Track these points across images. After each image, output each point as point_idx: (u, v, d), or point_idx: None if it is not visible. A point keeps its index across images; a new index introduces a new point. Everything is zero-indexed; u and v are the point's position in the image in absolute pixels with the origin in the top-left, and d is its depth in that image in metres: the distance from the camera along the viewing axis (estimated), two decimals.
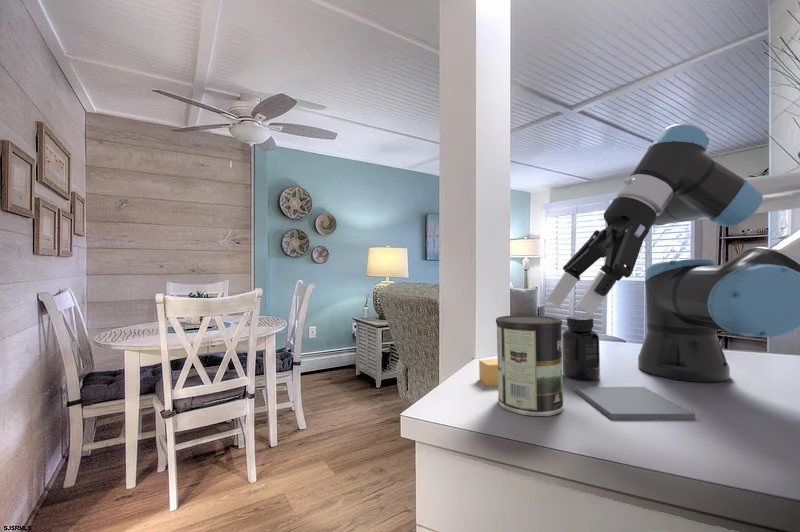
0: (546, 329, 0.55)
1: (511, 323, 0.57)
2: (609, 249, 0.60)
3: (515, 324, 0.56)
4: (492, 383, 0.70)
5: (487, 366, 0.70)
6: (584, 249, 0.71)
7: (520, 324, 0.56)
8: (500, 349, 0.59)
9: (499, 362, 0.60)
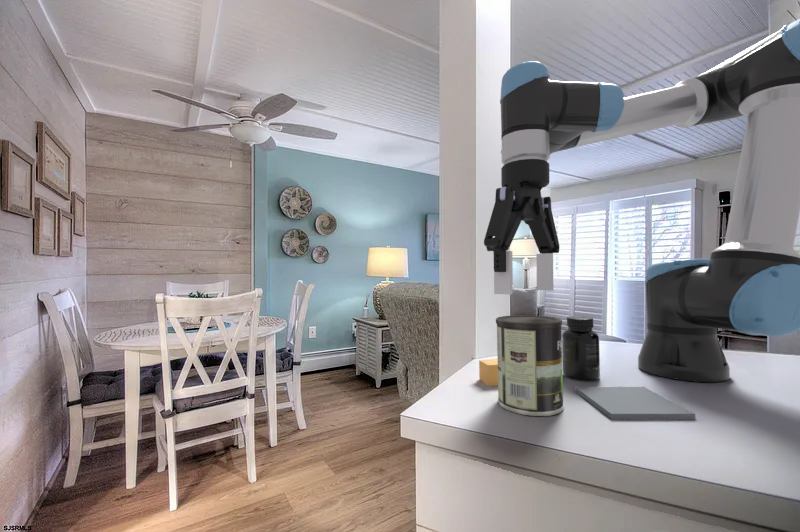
0: (546, 329, 0.55)
1: (511, 323, 0.57)
2: None
3: (515, 324, 0.56)
4: (492, 383, 0.70)
5: (487, 366, 0.70)
6: None
7: (520, 324, 0.56)
8: (500, 349, 0.59)
9: (499, 362, 0.60)
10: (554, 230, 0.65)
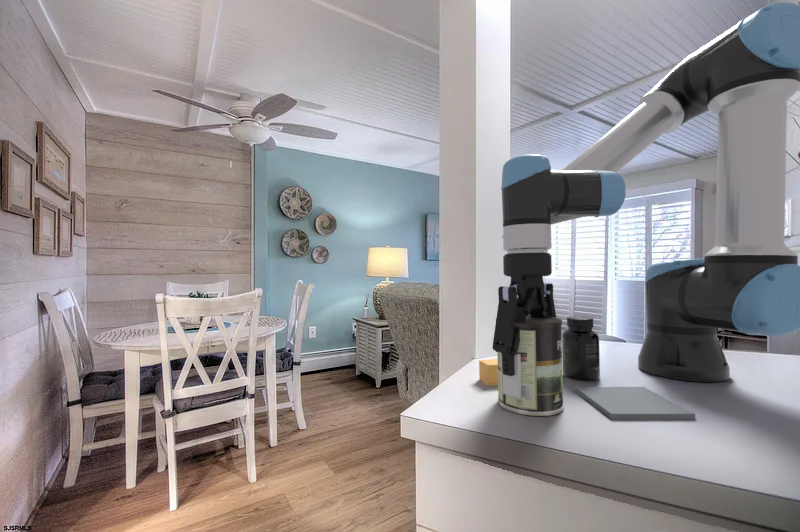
0: (546, 329, 0.55)
1: None
2: None
3: (515, 324, 0.56)
4: (492, 383, 0.70)
5: (487, 366, 0.70)
6: None
7: (520, 324, 0.56)
8: None
9: (499, 362, 0.60)
10: None
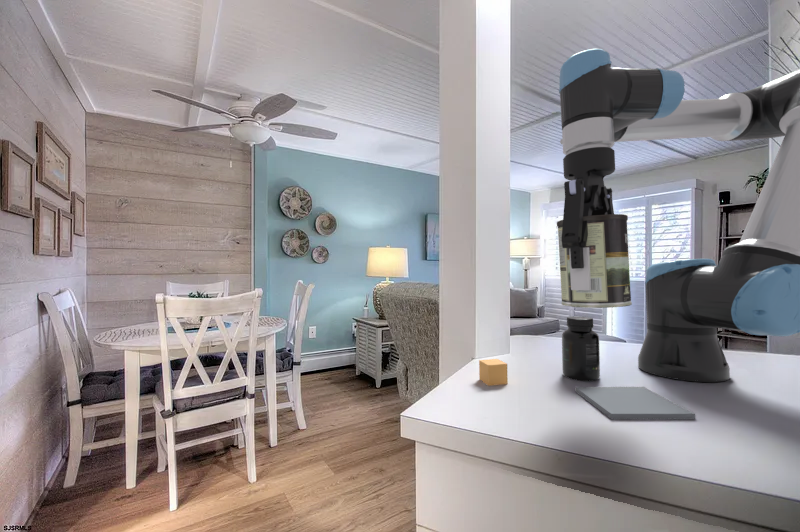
0: (615, 220, 0.55)
1: None
2: None
3: None
4: (492, 383, 0.70)
5: (487, 366, 0.70)
6: None
7: (587, 217, 0.55)
8: (565, 248, 0.59)
9: (563, 262, 0.59)
10: None
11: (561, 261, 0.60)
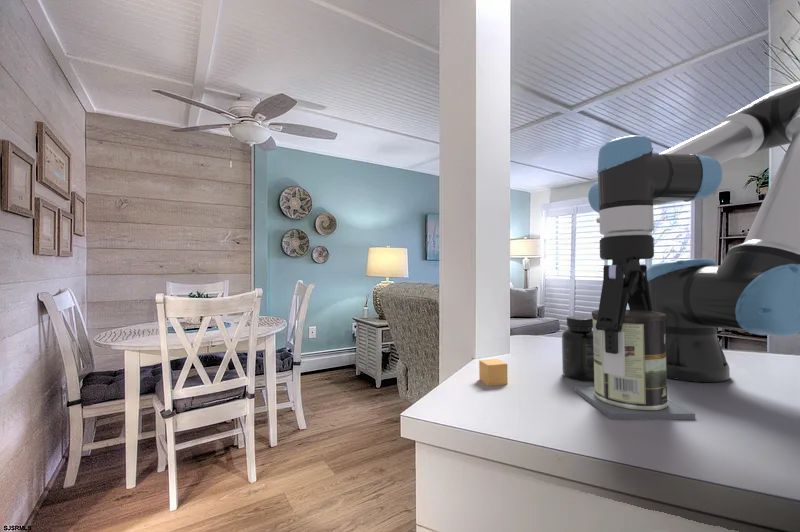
0: (654, 322, 0.55)
1: None
2: None
3: None
4: (492, 383, 0.70)
5: (487, 366, 0.70)
6: None
7: (627, 317, 0.55)
8: (601, 342, 0.58)
9: (599, 356, 0.59)
10: (649, 297, 0.64)
11: (596, 354, 0.60)
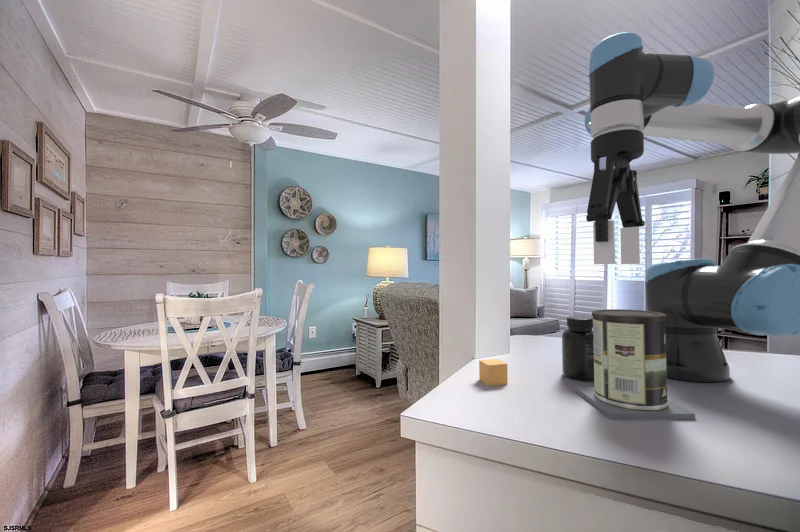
0: (655, 322, 0.55)
1: (616, 316, 0.56)
2: None
3: (621, 317, 0.56)
4: (492, 383, 0.70)
5: (487, 366, 0.70)
6: None
7: (627, 317, 0.55)
8: (601, 343, 0.58)
9: (599, 356, 0.59)
10: (639, 204, 0.65)
11: (596, 354, 0.60)
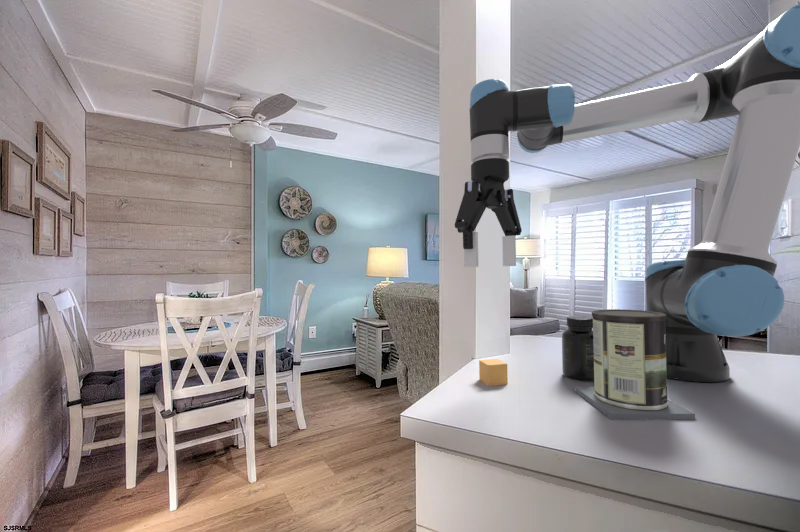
0: (655, 322, 0.55)
1: (616, 316, 0.56)
2: None
3: (621, 317, 0.56)
4: (492, 383, 0.70)
5: (487, 366, 0.70)
6: None
7: (627, 317, 0.55)
8: (601, 343, 0.58)
9: (599, 356, 0.59)
10: (516, 216, 0.78)
11: (596, 354, 0.60)
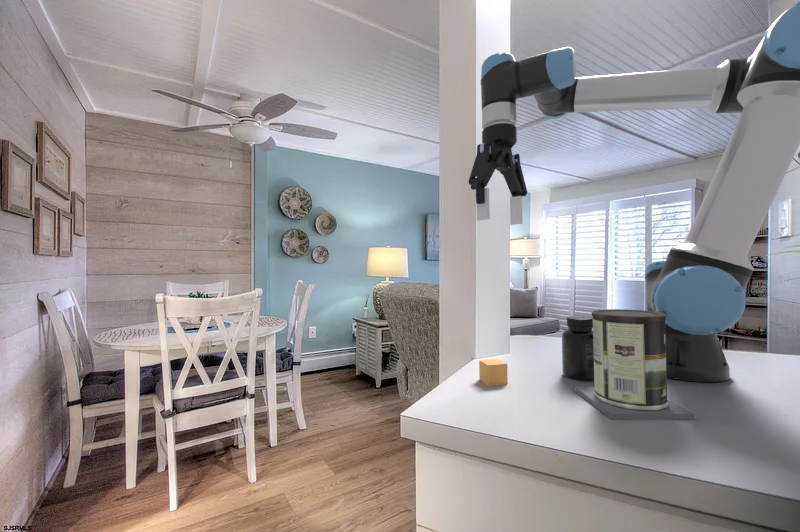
0: (654, 322, 0.55)
1: (616, 316, 0.56)
2: None
3: (621, 317, 0.56)
4: (492, 383, 0.70)
5: (487, 366, 0.70)
6: None
7: (627, 317, 0.55)
8: (601, 343, 0.58)
9: (599, 356, 0.59)
10: (522, 179, 0.87)
11: (596, 354, 0.60)
